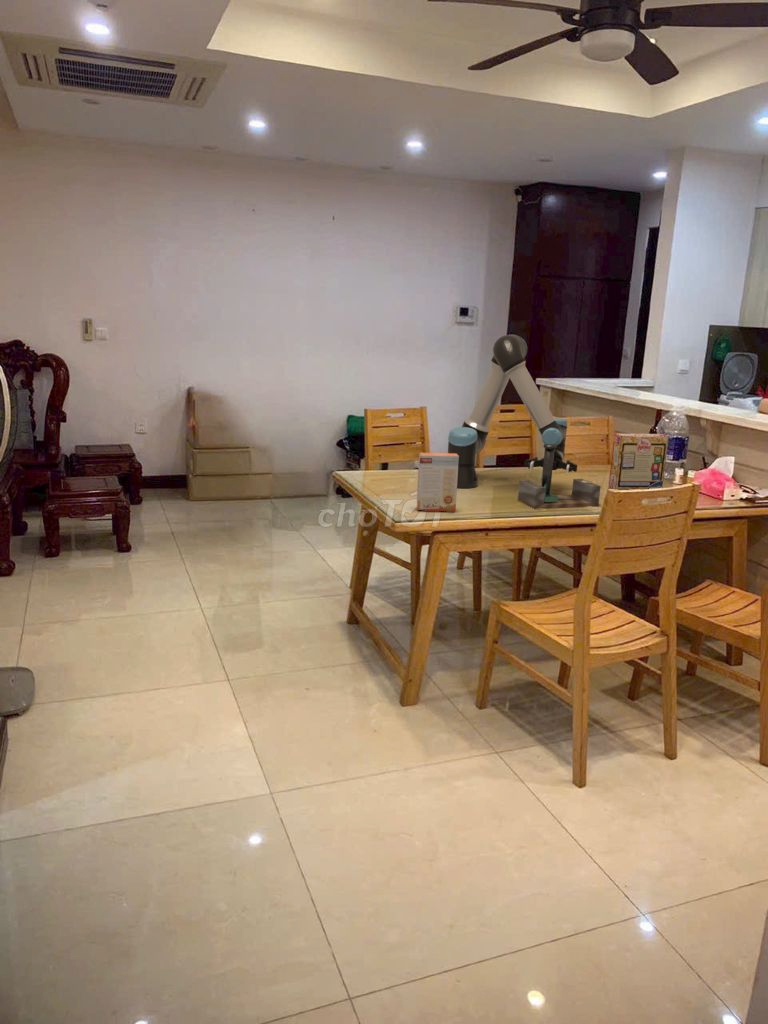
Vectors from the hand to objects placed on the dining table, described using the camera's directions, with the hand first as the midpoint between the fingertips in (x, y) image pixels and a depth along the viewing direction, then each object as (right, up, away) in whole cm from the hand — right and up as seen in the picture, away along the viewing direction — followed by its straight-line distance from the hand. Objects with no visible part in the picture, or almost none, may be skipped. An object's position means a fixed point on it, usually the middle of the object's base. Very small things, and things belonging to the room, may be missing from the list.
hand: (548, 469), depth 288 cm
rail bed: (+5, -13, +7) cm, 15 cm away
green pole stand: (-1, -11, +4) cm, 12 cm away
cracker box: (-44, -16, -11) cm, 48 cm away
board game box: (+38, -12, +16) cm, 43 cm away
